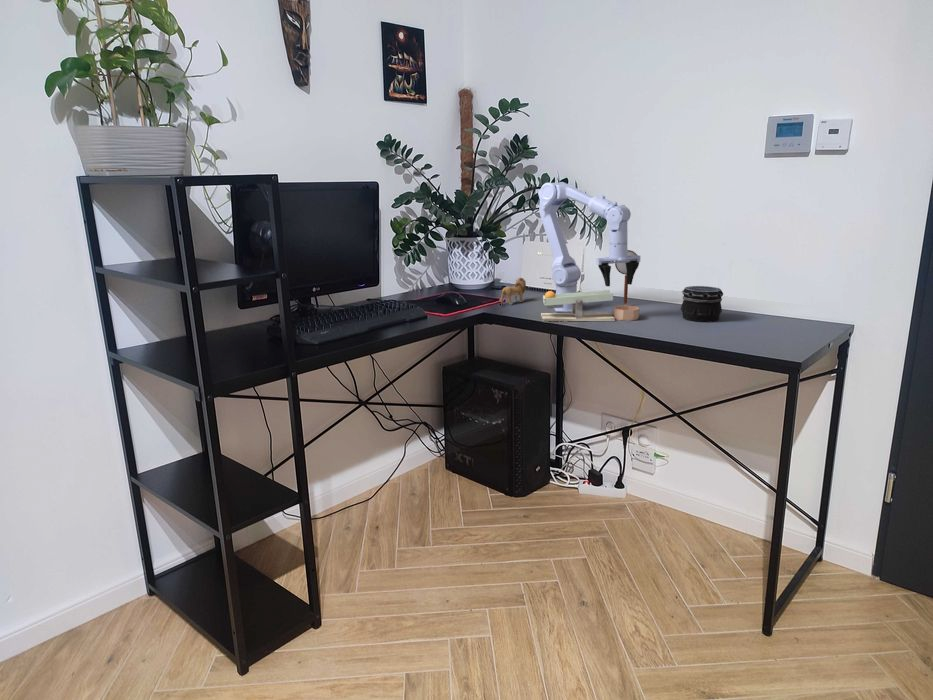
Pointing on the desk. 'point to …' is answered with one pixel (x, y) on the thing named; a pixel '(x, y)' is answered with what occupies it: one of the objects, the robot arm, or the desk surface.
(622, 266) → the magnifying glass
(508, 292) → the lion figurine
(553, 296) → the ball
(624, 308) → the octagonal wooden bowl
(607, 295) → the trough
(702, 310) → the container
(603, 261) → the robot arm
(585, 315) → the stand
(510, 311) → the desk surface
